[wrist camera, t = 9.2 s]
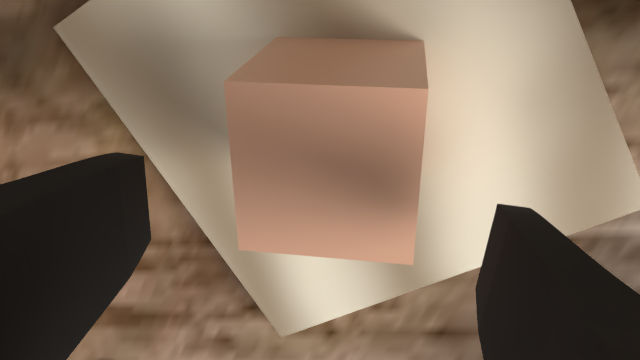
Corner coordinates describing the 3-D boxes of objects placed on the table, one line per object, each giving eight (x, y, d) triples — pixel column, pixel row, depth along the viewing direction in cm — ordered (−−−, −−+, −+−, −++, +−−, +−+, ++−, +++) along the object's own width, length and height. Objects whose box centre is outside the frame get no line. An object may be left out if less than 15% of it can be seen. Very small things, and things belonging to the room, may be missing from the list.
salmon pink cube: (413, 176, 17) (413, 264, 13) (281, 168, 18) (238, 250, 13) (424, 40, 15) (428, 88, 11) (276, 36, 16) (223, 81, 11)
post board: (287, 317, 22) (262, 397, 18) (74, 21, 18) (-15, 46, 14) (636, 188, 17) (697, 261, 14) (459, -261, 13) (477, -334, 9)
